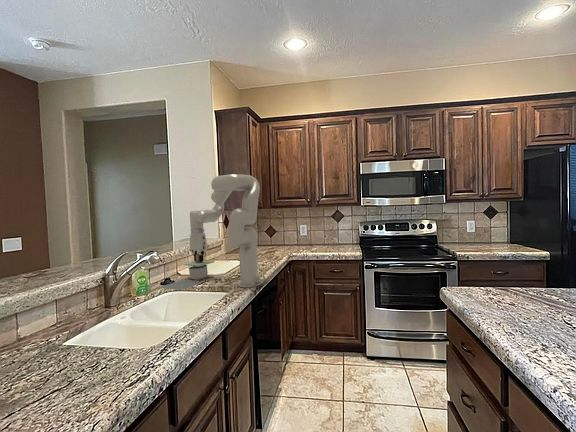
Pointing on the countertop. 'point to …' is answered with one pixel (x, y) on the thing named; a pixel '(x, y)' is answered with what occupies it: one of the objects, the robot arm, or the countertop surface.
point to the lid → (198, 262)
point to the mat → (180, 285)
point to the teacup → (198, 272)
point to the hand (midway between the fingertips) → (198, 261)
